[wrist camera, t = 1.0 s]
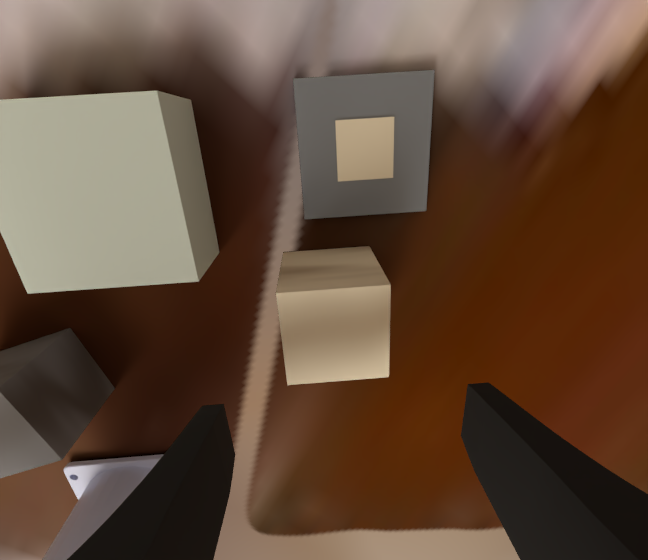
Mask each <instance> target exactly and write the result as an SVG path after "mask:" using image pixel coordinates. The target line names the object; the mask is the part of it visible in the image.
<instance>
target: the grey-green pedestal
mask: <svg viewBox="0 0 648 560" xmlns="http://www.w3.org/2000/svg"><path fill="white" fill-rule="evenodd" d="M0 232H1V234H2V237H3V239H4V241H5V243H6V246H7V248H8V250H9V253H10V255H11V257H12V259H13V262H14V264H15V266H16V268H17V271H18V273H19V275H20V277H21V280H22V282H23V284H24V287H25V289H26V291H27V293H28V294H30V293H45V292H59V291H73V290H87V289H101V288H115V287H129V286H143V285H157V284H171V283H185V282H199V280H200V279H201V278H202V276H203V275H204V273H205V272H206V271H207V269H208V268H209V266H210V265H211V264H212V262H213V261H214V259H215V258H216V257H217V255H218V254H219V247H218V242H217V236H216V231H215V226H214V220H213V215H212V209H211V204H210V199H209V193H208V188H207V183H206V177H205V172H204V167H203V161H202V156H201V151H200V145H199V140H198V135H197V129H196V124H195V119H194V113H193V108H192V103H191V100H190V99H186V98H182V97H179V96H175V95H171V94H168V93H164V92H160V91H141V92H124V93H107V94H90V95H73V96H56V97H40V98H23V99H6V100H0Z"/></svg>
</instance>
